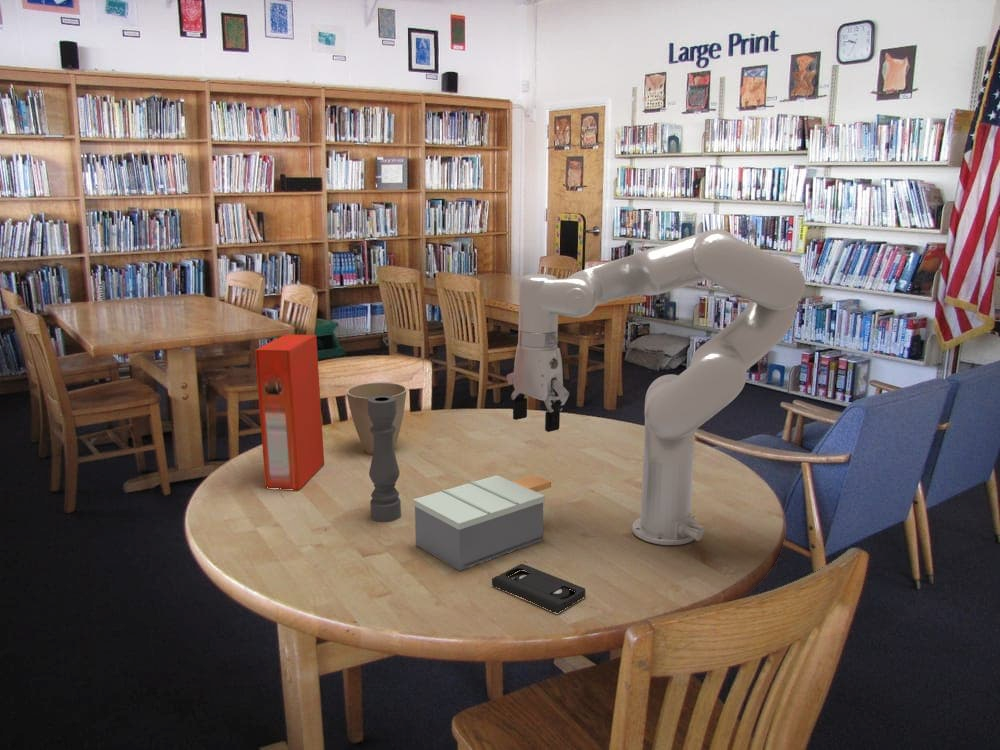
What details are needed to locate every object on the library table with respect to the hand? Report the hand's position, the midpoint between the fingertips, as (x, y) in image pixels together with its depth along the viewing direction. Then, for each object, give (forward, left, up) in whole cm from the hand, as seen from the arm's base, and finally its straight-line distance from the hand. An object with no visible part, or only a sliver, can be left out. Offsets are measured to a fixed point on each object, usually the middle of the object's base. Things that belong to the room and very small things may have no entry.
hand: (535, 424), depth 167 cm
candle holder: (+22, +21, -21) cm, 37 cm away
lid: (0, +11, -13) cm, 17 cm away
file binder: (+55, +25, -21) cm, 64 cm away
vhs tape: (-22, +19, -22) cm, 36 cm away
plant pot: (+59, 0, -21) cm, 63 cm away
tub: (0, +14, -21) cm, 25 cm away
